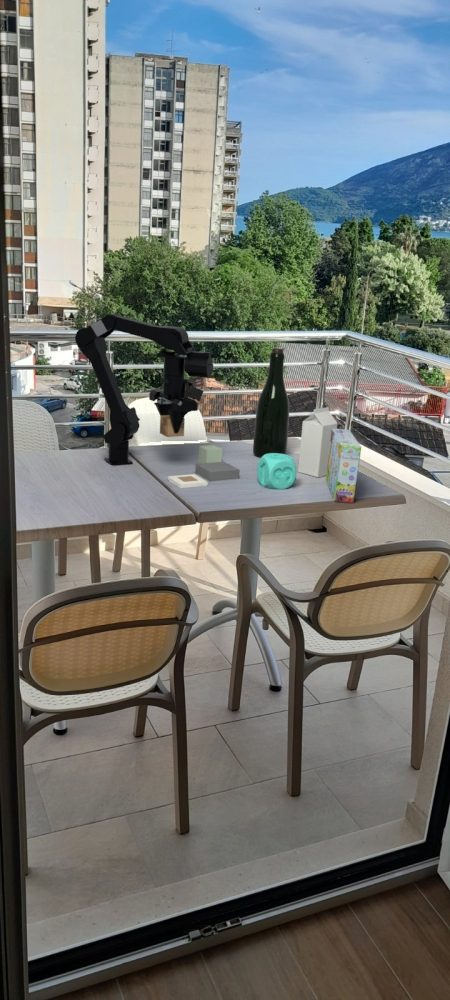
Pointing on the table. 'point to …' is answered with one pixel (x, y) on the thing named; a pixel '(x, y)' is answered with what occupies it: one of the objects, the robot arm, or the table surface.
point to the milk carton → (316, 442)
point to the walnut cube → (169, 427)
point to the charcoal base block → (217, 471)
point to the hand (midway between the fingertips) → (171, 430)
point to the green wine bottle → (272, 410)
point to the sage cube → (210, 454)
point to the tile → (187, 481)
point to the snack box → (343, 465)
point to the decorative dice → (276, 471)
